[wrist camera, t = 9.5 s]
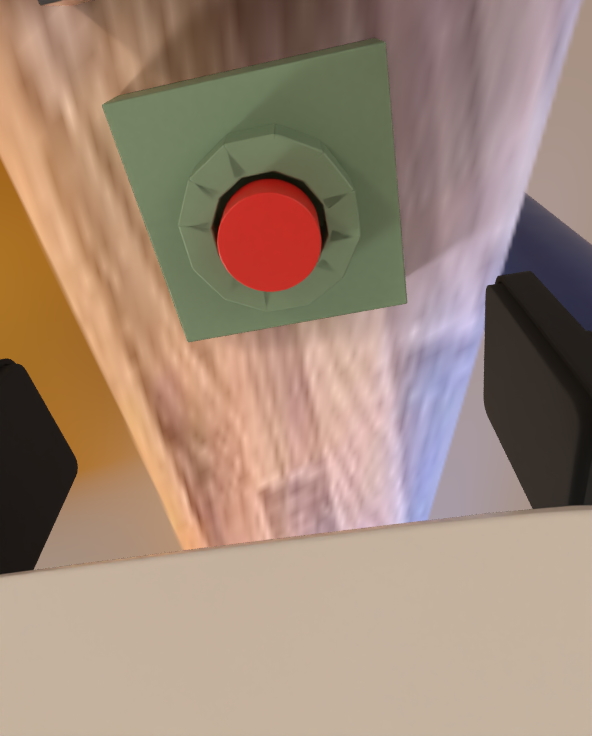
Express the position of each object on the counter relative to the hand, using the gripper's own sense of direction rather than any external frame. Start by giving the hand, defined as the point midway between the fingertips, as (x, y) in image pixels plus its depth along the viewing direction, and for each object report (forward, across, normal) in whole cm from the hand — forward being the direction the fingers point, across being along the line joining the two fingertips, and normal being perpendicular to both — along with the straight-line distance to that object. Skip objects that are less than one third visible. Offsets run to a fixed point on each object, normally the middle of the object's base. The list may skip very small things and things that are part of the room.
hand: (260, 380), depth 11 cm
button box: (+14, 0, 0) cm, 14 cm away
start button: (+10, 0, +1) cm, 11 cm away
